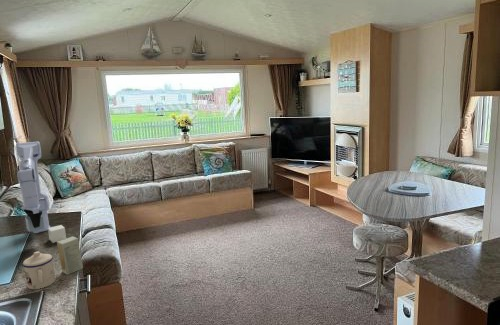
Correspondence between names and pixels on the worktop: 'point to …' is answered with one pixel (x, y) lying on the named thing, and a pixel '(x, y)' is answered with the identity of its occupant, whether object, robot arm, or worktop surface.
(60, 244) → the skincare box
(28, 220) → the cover
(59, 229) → the cover
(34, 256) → the teacup with lid
